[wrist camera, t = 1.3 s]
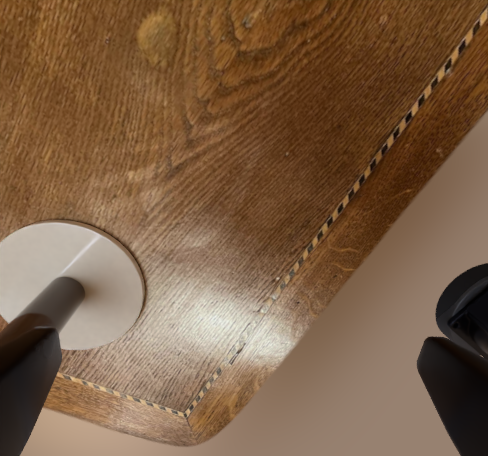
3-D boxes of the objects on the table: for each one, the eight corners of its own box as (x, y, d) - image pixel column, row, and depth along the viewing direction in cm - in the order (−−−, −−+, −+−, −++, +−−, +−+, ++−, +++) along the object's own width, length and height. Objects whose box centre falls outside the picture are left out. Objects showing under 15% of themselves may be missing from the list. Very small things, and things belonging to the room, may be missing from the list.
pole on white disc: (173, 275, 21) (130, 424, 11) (97, 365, 23) (3, 560, 13) (37, 188, 18) (-191, 279, 8) (-34, 299, 21) (-285, 482, 10)
